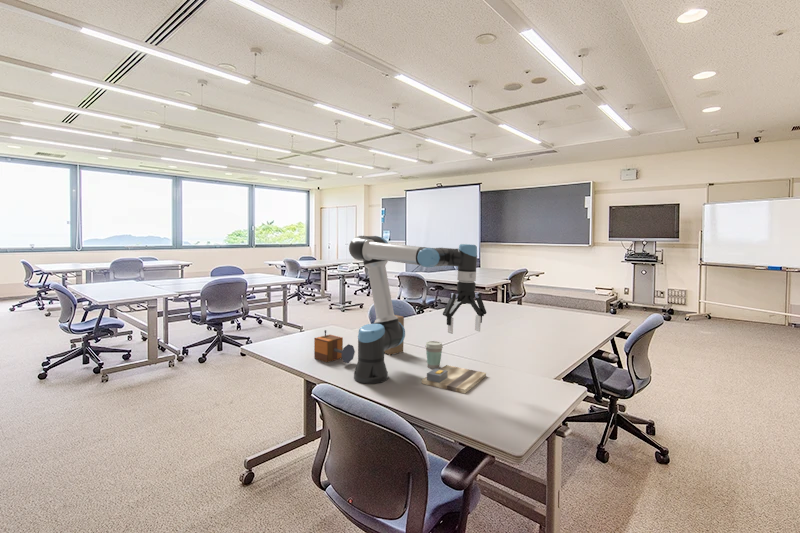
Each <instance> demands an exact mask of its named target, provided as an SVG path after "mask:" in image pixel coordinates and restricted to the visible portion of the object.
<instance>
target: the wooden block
mask: <svg viewBox="0 0 800 533" xmlns="http://www.w3.org/2000/svg"><path fill="white" fill-rule="evenodd" d="M394 315H395V316H396V317H398V320H399V323H401V325H403V327H404V328H405V317H404V316H403V315H399V314H394ZM404 340H405V339H404ZM404 340H403V342H402V343H401V344H400V345H398V346H397V347H394V348H391V349H388V350H385V351H384V352H385V353H384V354H386V353H387V354H386V355H389V354H390V355H389V356H392V355H391V354H393V355H396V354H395V353H397V354H400V353H399V352H401V353H404Z"/></svg>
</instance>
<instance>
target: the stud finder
mask: <svg viewBox="0 0 800 533" xmlns="http://www.w3.org/2000/svg"><path fill="white" fill-rule="evenodd" d="M447 375H448V371H446V370H441V368H438V369H436V368H435V369H431V370H430V371H428V372H427V373H426V377H427V380H429V381H433V382H438V383H440V382H441V381H443V380H444V379H446V378H447Z"/></svg>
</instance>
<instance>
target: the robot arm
mask: <svg viewBox="0 0 800 533" xmlns="http://www.w3.org/2000/svg"><path fill="white" fill-rule="evenodd" d="M348 246H349V247H348V251H349V254H350V256H351V257H352V258H353V259H354V260H356V261H361V262H363V263H362V264H363V267H365V268H366V269H367V273H368V277H369V278H368V279H369V284H370V288H371V289H370V290H371V295H372V300H373V305H374V310H375V316H376V319H375V320H374V322H373V323H367V324H364V325H363V326H361V327H359V328H358V332H357V333H358V335H357V339H358V340H357V355H358V356H357V363H356V367H355V369H354V372H353V380H355V382H358V383H360V384H372V385H373V384H379V383H382V382H385V381H386V382H387V380H388V377H389V373H388V372H389V371H388V369H387V365H386V363H385V353H384V351H385V350H388V349H391V348H394V347H397V346H398V345H400V344H401V343H402V342H403V343H404V341H403V340H405V337H406V330H405V326H404V327H403V325H401V323H399V320H398V317H396V316H395V315H396V314H395V312H394V306H393V300H392V295H391V291H390V290H391V288H390V283H389V278H388V274H387V268H386V267H387V266H386V265H387V264H388V263H389V262H395V263H402V264H409V265H414V266H415V265H416V266H421V267H425V268H435V267H457V285H456V290H457V292H456V293H453V292H450V295H449V299H448V301H447V304H446V306H445V308H444V309H443V312H442V315H443V316H444V317H446V325H447V333H449V334H453V333H454V317H453V316H454V315H455V313H456V312H457V311H458V310H459V308H460V307H461V306H462V305H470V306H471V307H472V308H473V310H474V311H475V313H476V314H475V319H474V320H475V321H474V322H475V323H474V331H476V332H481V324H483V317H484V316H485V315H486V314H487V309H486V308H485V304H484V301H483V299H482V293H481V292H475V291H476V280H477V263H478V246H477V245H476V244H467V243H465V244H464V243H461V244H459V246H458V248H450V247H425V246H416V245H408V244H407V245H406V244H398V243H390V242H388V240H387V239H386V238H383V237H381V236H377V235H358V236H355V237H354V238H353V239H352V240H350V243H349V245H348Z"/></svg>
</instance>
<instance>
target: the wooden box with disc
mask: <svg viewBox="0 0 800 533" xmlns="http://www.w3.org/2000/svg"><path fill="white" fill-rule="evenodd" d="M343 342H344V339H343V337H341V336H339V335H337V336H336V335H333V334H327V330H326V329H324V335H321V336H318V337H314V342H313V343H314V346H313V347H314V350H313V352H314V356H313V357H314V359H316V360H319V361H322V362H325V363H329V362H333V360H334V361H337V360H340V358H341V359H342V362H343V363H347V364H349V363H350V362H351V361H353V360H354V356H355V353H356V350H355V347H354V345H352V344H349V343H348V344H347V345H345V347H344V346H343ZM336 359H337V360H336Z"/></svg>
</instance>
